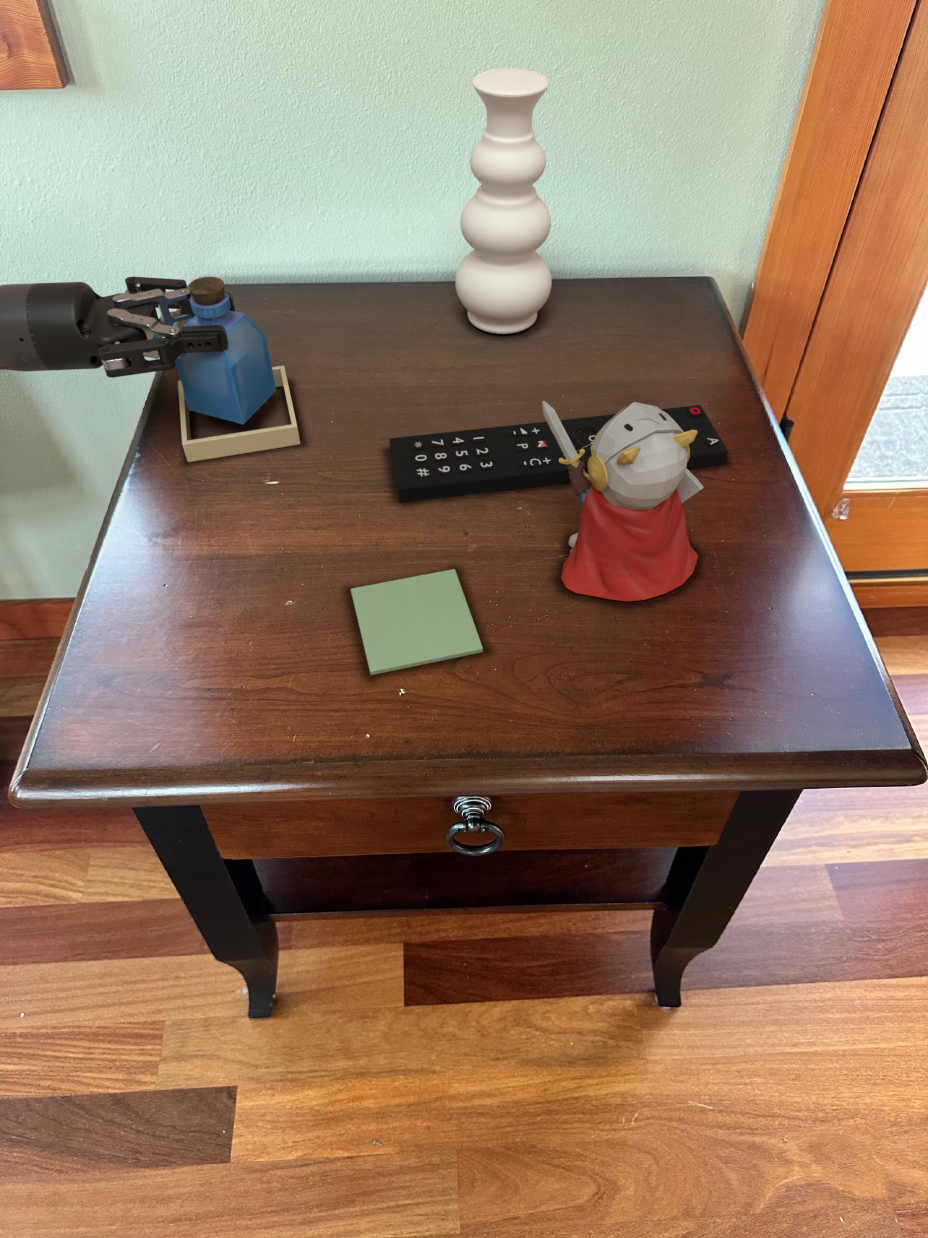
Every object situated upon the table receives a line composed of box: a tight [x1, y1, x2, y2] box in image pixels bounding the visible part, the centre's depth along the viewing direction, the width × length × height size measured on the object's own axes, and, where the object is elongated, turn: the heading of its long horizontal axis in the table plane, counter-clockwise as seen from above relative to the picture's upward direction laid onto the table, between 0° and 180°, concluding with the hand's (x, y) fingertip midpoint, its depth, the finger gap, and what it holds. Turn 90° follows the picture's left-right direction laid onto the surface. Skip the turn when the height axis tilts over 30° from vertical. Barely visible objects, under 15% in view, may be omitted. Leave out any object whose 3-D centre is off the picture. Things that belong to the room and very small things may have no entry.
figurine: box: [541, 400, 704, 603], centre depth 67 cm, size 13×12×15 cm
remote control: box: [388, 404, 729, 503], centre depth 81 cm, size 8×32×2 cm, turn 100°
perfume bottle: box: [175, 276, 277, 425], centre depth 79 cm, size 6×6×12 cm
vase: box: [454, 67, 553, 335], centre depth 89 cm, size 11×11×25 cm
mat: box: [350, 568, 484, 676], centre depth 68 cm, size 9×9×1 cm
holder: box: [177, 365, 301, 463], centre depth 85 cm, size 11×11×2 cm
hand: (229, 320), depth 77 cm, fingers closed on perfume bottle, 5 cm apart
